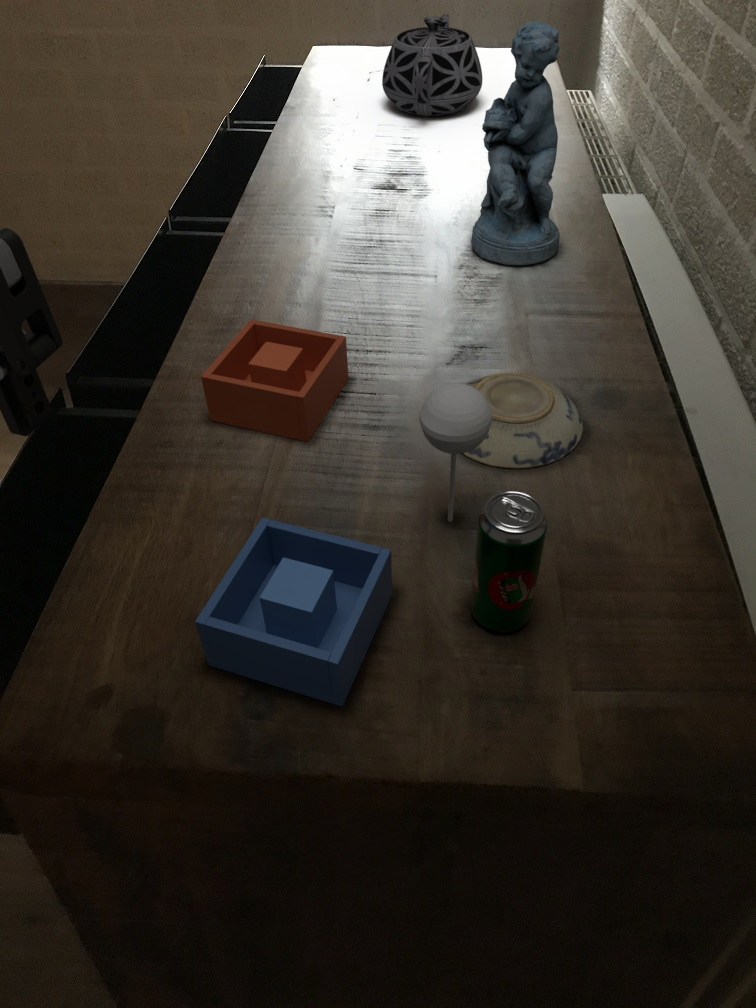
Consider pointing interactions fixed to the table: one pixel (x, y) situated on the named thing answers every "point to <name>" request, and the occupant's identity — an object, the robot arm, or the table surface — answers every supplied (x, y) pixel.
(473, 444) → the lollipop
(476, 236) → the statue
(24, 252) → the robot arm
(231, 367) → the terracotta bin
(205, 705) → the table surface
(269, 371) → the terracotta block
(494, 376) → the decorative bowl
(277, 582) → the blue block
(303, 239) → the table surface
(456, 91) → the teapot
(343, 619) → the blue bin
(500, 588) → the soda can
